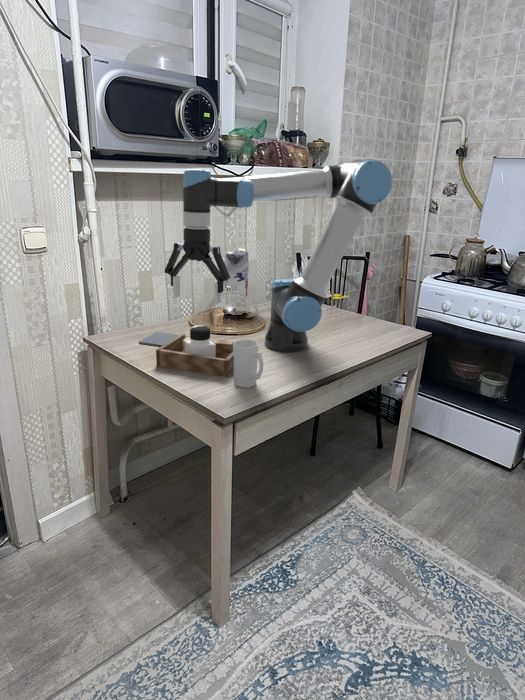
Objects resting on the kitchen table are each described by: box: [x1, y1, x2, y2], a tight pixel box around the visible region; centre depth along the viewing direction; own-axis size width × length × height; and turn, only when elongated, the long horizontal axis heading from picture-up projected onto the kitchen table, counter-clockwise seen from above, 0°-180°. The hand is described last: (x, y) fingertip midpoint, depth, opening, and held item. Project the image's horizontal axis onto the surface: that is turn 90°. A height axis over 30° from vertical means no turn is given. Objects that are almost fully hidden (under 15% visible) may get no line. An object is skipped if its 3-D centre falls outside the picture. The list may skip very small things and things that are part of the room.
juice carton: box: [223, 248, 249, 297], centre depth 197 cm, size 9×10×27 cm
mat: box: [138, 331, 190, 348], centre depth 166 cm, size 14×12×1 cm
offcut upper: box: [212, 339, 235, 353], centre depth 151 cm, size 6×3×3 cm, turn 84°
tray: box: [155, 333, 234, 378], centre depth 148 cm, size 23×17×5 cm
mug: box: [233, 339, 264, 389], centre depth 132 cm, size 10×7×12 cm, turn 46°
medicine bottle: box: [185, 324, 216, 357], centre depth 145 cm, size 7×7×12 cm
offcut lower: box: [216, 349, 234, 359], centre depth 152 cm, size 8×4×3 cm, turn 72°
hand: (196, 300), depth 142 cm, fingers open, 13 cm apart
